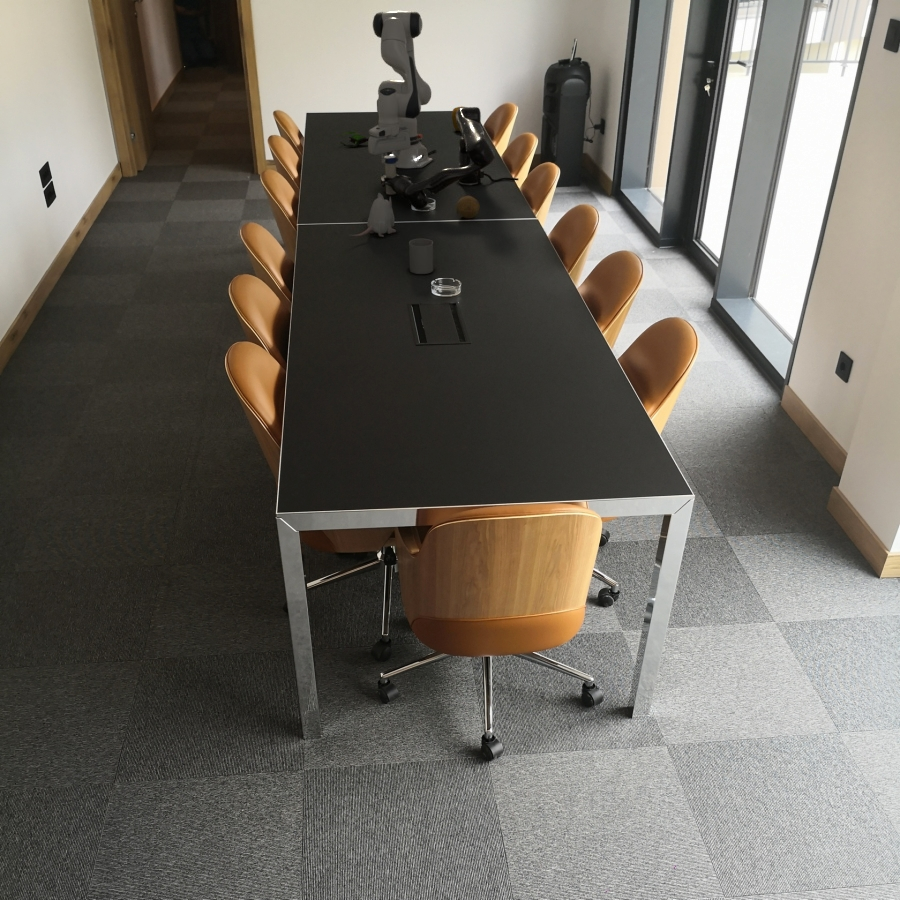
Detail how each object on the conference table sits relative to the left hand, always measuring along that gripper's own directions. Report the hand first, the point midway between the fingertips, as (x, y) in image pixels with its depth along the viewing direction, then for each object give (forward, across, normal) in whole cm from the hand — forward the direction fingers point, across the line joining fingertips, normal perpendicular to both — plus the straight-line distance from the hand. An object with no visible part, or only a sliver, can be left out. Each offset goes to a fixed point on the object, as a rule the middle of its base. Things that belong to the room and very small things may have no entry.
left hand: (390, 162), depth 381 cm
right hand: (+7, -1, -3) cm, 8 cm away
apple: (+14, -101, -76) cm, 127 cm away
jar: (+14, 0, 0) cm, 14 cm away
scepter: (+14, -41, -80) cm, 91 cm away
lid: (-2, 0, 0) cm, 2 cm away
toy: (+14, +40, +45) cm, 61 cm away
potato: (+14, -5, +48) cm, 50 cm away
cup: (+14, +46, +85) cm, 97 cm away
